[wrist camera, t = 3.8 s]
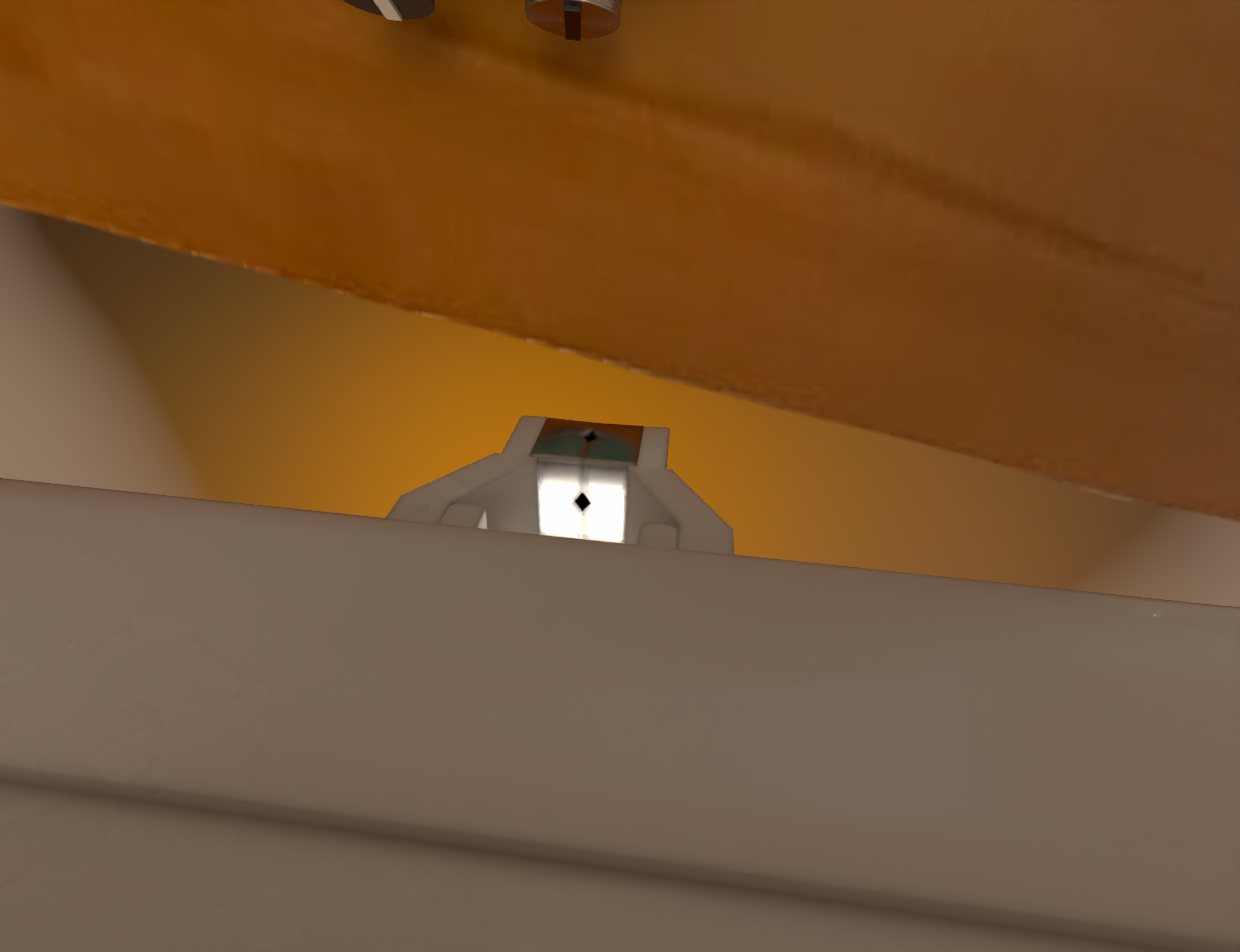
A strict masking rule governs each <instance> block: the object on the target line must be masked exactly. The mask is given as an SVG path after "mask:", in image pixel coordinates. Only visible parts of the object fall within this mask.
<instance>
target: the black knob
mask: <svg viewBox="0 0 1240 952" xmlns="http://www.w3.org/2000/svg"><path fill="white" fill-rule="evenodd" d="M344 1H345V2H347V3H349V4H350V5H353V6H355V7H357V8H359V9H362V10H364V11H367V12H370V13H374V14H377V15H381V16H385V18H386V19H388V20H397V21H402V19H415V18H422V17H426V16H428V15H430V14H431V13H432V12H433V10H434V0H344Z"/></svg>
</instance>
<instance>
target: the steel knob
mask: <svg viewBox="0 0 1240 952" xmlns="http://www.w3.org/2000/svg"><path fill="white" fill-rule="evenodd" d="M621 6H622V0H525V13H526V16H527V18H528V19H529V20H530V21H531V22H532V23H533V24H534V25H536V26H537V27H539V28H541V29H543V30H546V31H548V32H551V33H554V34H558V35H562V36H565V37H566V39H568V40H577V41H580V40H581V38H595V37H602V36H606V35H609V34H611V33H613V32H615V31H616V30H617V29H618V27H619V25H620V21H621Z"/></svg>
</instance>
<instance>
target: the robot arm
mask: <svg viewBox="0 0 1240 952" xmlns="http://www.w3.org/2000/svg"><path fill="white" fill-rule="evenodd" d="M669 434H670V429H669V428H660V427H644V426H632V425H618V424H603V423H592V422H582V421H573V420H564V419H555V418H547V417H538V416H522V417H521V418H520V420H519V422H518V424H517V425H516V427H515V429H514V431H513V433H512V435H511V437H510V439H509V440H508V442H507V444H506V446H505V448H504V450H503V452H502V453H501V454H499V453H494V454H492V455H489V456H487V457H485V458H483V459H481V460H478V461H476V462H474V463H472V464H470V465H467V466H465V467H463V468H461V469H459V470H456V471H454V472H452V473H450V474H448V475H445V476H443V477H441V478H439V479H436V480H434V481H432V482H430V483H428V484H425V485H423V486H421V487H419V488H417V489H415V490H413V491H410V492H408V493H406V494H403V495H401V497H400V498H399V499H398V501H397V502H396V504H395V505H394V506H393V508H392V509H391V511H390V512H389V514H388V515H387V516H386V518H377V517H368V516H358V515H348V514H339V513H329V512H320V511H310V510H300V509H290V508H280V507H272V506H262V505H252V504H243V503H233V502H223V501H214V500H204V499H194V498H185V497H175V496H165V495H155V494H146V493H137V492H128V491H118V490H109V489H99V488H88V487H80V486H70V485H61V484H50V483H42V482H31V481H22V480H13V479H3V478H0V952H1240V607H1231V606H1220V605H1210V604H1200V603H1190V602H1181V601H1171V600H1162V599H1152V598H1143V597H1134V596H1124V595H1115V594H1105V593H1096V592H1086V591H1076V590H1067V589H1057V588H1048V587H1038V586H1029V585H1019V584H1009V583H1000V582H990V581H980V580H971V579H961V578H951V577H942V576H932V575H922V574H913V573H903V572H894V571H885V570H875V569H865V568H855V567H846V566H837V565H827V564H817V563H807V562H798V561H789V560H779V559H768V558H760V557H750V556H741V555H734V540H733V529H732V528H731V527H730V526H729V525H728V524H727V523H726V522H724V521H723V519H722V518H721V517H719V515H718V514H717V513H716V512H715V511H713V510H712V509H711V508H710V507H709V506H708V505H707V504H706V503H705V502H704V501H703V500H702V499H701V498H700V497H699V496H698V495H697V494H696V493H695V492H694V491H693V490H692V489H691V488H690V487H689V486H688V485H687V484H686V483H685V482H684V481H683V480H682V479H681V478H680V477H679V476H678V475H677V474H675V472H673V470H667V469H666V467H667V456H668V445H669Z"/></svg>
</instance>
